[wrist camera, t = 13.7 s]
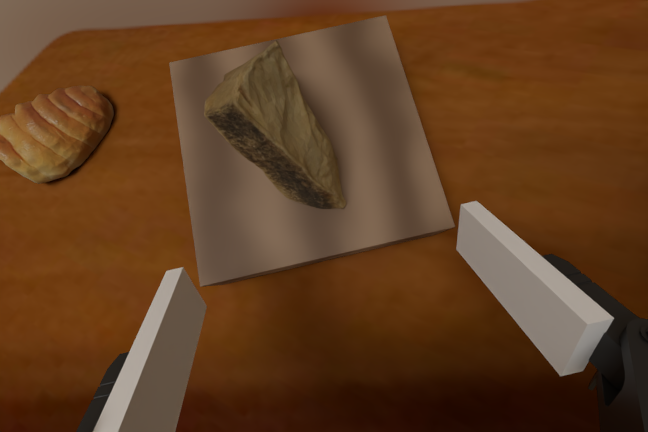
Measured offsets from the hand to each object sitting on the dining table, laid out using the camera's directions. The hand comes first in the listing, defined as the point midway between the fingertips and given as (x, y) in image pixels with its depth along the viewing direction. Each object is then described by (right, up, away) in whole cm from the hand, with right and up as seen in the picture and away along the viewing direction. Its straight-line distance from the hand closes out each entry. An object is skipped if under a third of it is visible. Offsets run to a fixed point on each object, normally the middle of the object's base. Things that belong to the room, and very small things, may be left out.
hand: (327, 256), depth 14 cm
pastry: (-24, +9, +13) cm, 29 cm away
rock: (-2, +8, +8) cm, 11 cm away
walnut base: (-2, +7, +12) cm, 14 cm away
